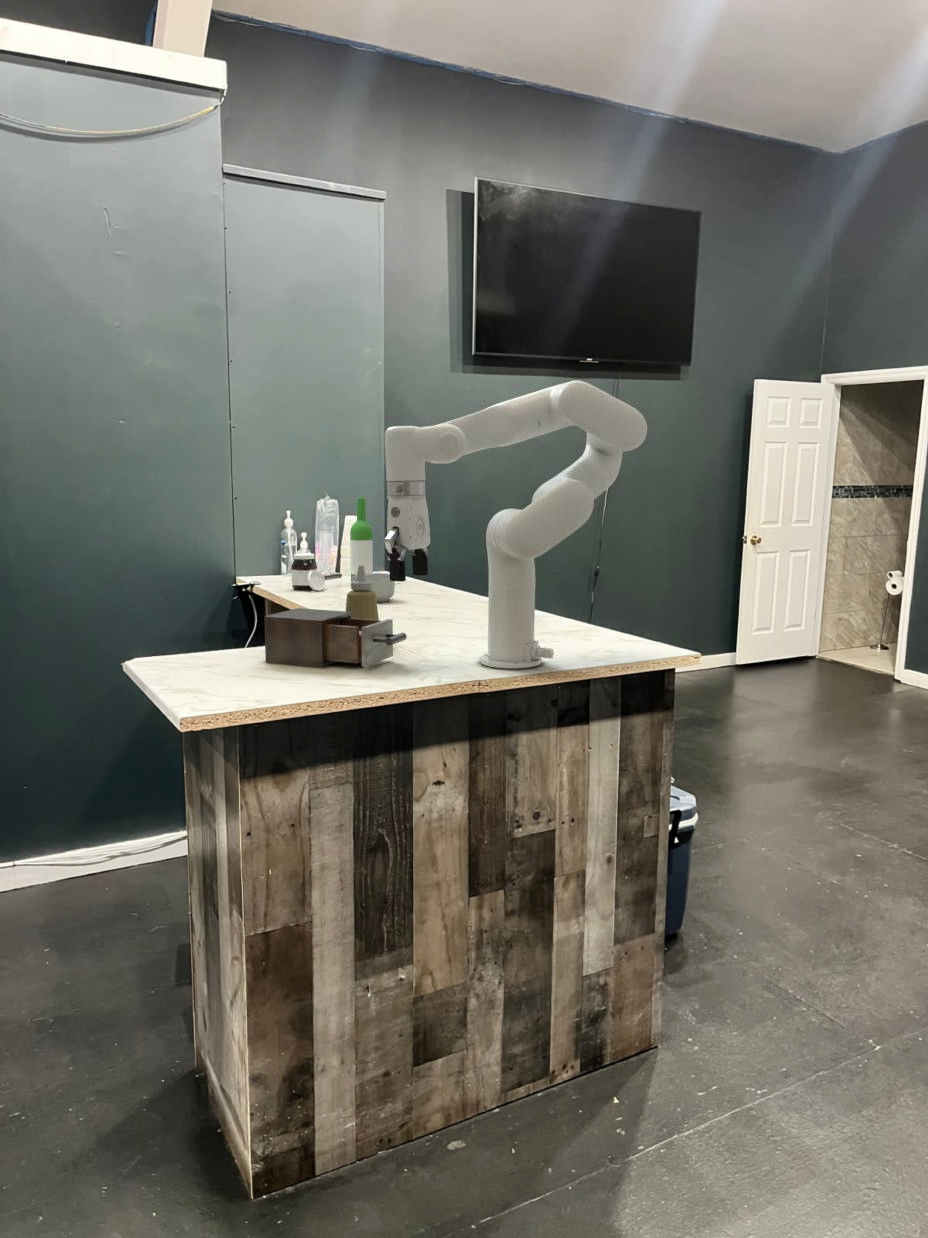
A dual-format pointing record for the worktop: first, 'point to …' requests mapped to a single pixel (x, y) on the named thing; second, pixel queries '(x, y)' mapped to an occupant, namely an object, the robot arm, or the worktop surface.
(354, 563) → the wine bottle
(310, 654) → the cabinet
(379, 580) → the teacup
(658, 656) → the worktop surface
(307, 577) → the spread jar
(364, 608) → the squeeze bottle
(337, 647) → the drawer
